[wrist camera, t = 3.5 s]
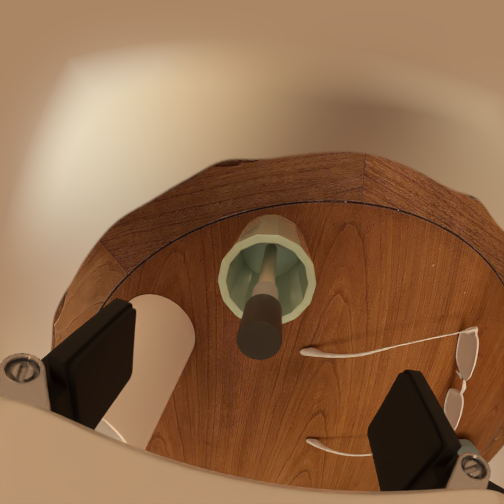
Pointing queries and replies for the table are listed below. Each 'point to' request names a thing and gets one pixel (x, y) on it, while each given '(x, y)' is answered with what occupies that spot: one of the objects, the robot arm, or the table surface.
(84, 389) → the robot arm
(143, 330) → the cup
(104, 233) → the table surface
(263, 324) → the brush
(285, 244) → the tumbler
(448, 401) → the eyeglasses
